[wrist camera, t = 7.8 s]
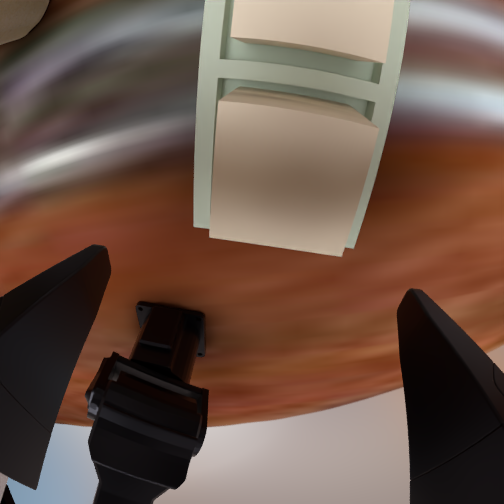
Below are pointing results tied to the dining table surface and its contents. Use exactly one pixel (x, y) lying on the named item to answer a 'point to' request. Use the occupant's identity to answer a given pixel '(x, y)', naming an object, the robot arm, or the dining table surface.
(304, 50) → the tray
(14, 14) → the flower pot
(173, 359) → the robot arm
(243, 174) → the maple cube
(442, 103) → the dining table surface
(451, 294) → the dining table surface
